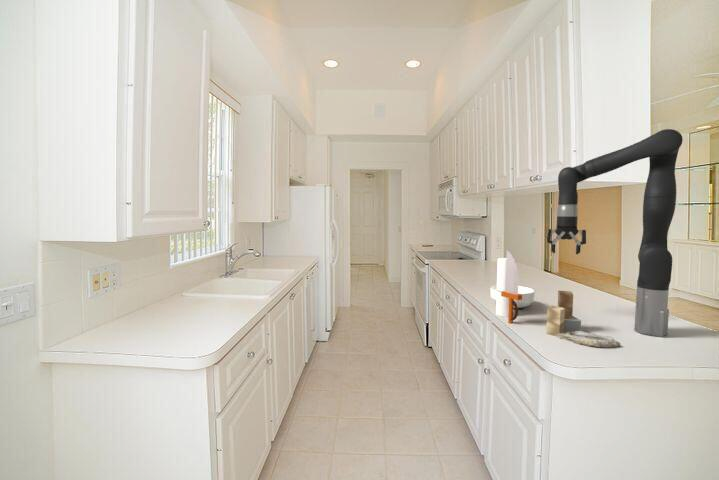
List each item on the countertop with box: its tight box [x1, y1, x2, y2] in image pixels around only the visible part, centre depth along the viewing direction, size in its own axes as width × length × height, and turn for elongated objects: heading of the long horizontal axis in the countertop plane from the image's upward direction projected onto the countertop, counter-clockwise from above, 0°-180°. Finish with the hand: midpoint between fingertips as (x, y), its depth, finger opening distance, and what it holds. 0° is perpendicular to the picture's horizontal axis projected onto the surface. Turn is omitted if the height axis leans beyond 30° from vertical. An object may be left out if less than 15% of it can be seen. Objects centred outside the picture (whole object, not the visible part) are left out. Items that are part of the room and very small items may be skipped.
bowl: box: [490, 284, 535, 309], centre depth 172 cm, size 20×20×8 cm
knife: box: [501, 250, 522, 324], centre depth 145 cm, size 8×2×30 cm, turn 27°
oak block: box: [545, 305, 565, 338], centre depth 132 cm, size 4×4×10 cm
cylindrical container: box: [495, 257, 516, 318], centre depth 157 cm, size 7×7×25 cm
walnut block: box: [557, 290, 574, 320], centre depth 137 cm, size 4×4×10 cm
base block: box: [564, 315, 582, 333], centre depth 138 cm, size 8×8×5 cm
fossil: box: [558, 330, 621, 349], centre depth 124 cm, size 18×10×3 cm, turn 54°
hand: (565, 253), depth 150 cm, fingers open, 8 cm apart
